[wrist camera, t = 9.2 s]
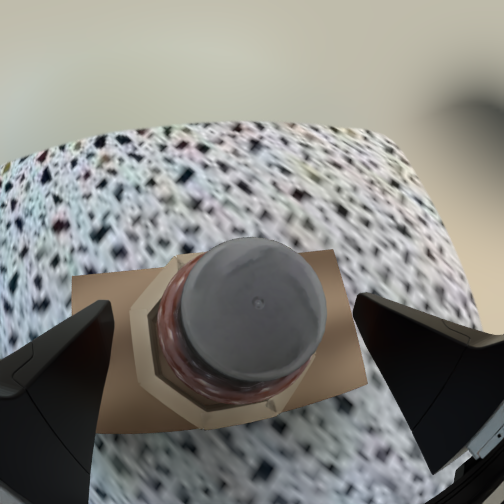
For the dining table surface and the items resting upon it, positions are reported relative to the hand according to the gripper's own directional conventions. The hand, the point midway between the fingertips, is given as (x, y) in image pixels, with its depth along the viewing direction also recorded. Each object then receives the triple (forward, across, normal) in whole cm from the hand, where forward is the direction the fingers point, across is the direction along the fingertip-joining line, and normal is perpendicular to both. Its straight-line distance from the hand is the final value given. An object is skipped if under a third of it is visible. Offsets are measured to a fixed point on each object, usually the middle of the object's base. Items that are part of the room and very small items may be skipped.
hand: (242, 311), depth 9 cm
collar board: (+7, 0, +7) cm, 10 cm away
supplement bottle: (+6, 0, +7) cm, 9 cm away
